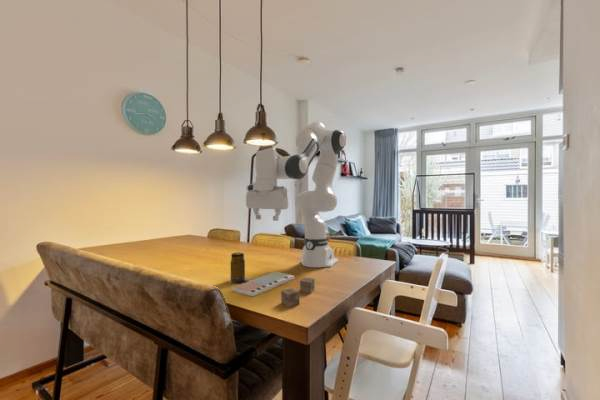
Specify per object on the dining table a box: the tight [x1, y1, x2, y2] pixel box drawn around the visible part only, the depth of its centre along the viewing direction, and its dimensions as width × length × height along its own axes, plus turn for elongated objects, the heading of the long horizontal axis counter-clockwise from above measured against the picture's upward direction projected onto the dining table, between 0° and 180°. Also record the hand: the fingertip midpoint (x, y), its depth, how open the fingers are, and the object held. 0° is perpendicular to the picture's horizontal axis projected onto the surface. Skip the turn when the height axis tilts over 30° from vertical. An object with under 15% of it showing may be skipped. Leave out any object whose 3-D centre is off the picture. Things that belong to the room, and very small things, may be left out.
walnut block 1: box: [280, 287, 300, 308], centre depth 98 cm, size 4×4×4 cm
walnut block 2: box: [299, 277, 316, 294], centre depth 111 cm, size 4×4×4 cm
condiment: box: [227, 252, 252, 285], centre depth 123 cm, size 7×8×12 cm
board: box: [231, 271, 295, 297], centre depth 119 cm, size 26×11×2 cm, turn 146°
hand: (266, 220), depth 118 cm, fingers open, 8 cm apart
